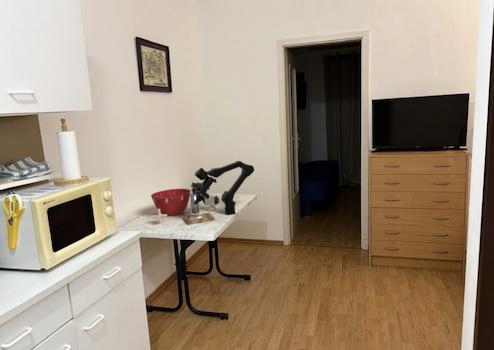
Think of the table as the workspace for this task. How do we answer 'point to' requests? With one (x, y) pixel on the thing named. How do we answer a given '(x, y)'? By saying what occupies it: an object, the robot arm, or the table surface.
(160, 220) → the pipe connector
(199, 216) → the mounting plate
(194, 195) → the steel hub
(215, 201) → the pneumatic valve
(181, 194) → the mixing bowl
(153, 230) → the table surface
